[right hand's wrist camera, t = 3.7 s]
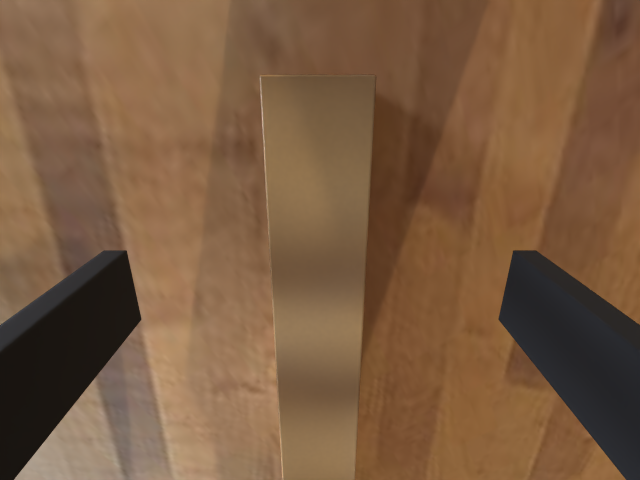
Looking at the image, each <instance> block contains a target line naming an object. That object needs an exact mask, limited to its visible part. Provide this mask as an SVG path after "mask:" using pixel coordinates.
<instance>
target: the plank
mask: <svg viewBox="0 0 640 480" xmlns="http://www.w3.org/2000/svg"><path fill="white" fill-rule="evenodd" d="M259 78H260V96H261V113H262V131H263V148H264V166H265V183H266V201H267V218H268V236H269V253H270V271H271V288H272V306H273V323H274V341H275V358H276V376H277V393H278V411H279V428H280V446H281V463H282V480H355V467H356V448H357V429H358V411H359V392H360V373H361V354H362V335H363V317H364V298H365V279H366V260H367V241H368V223H369V204H370V185H371V166H372V147H373V129H374V110H375V91H376V75H260V77H259Z"/></svg>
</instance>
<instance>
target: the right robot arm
mask: <svg viewBox="0 0 640 480" xmlns="http://www.w3.org/2000/svg"><path fill="white" fill-rule="evenodd" d="M140 321H141V315H140V310H139V306H138V301H137V297H136V292H135V287H134V283H133V278H132V273H131V269H130V264H129V260H128V255H127V251H103V252H101V253H100V254H99V255H97V256H96V257H94V258H93V259H92V260H90V261H89V262H87V263H86V264H85V265H83V266H82V267H80V268H79V269H78V270H76V271H75V272H73V273H72V274H71V275H69V276H68V277H67V278H65V279H64V280H62V281H61V282H60V283H58V284H57V285H55V286H54V287H53V288H51V289H50V290H48V291H47V292H46V293H44V294H43V295H41V296H40V297H39V298H37V299H36V300H35V301H33V302H32V303H30V304H29V305H28V306H26V307H25V308H23V309H22V310H21V311H19V312H18V313H16V314H15V315H14V316H12V317H11V318H9V319H8V320H7V321H5V322H4V323H3V324H1V325H0V480H14V479H15V477H16V476H17V475H18V474H19V472H20V471H21V470H22V469H23V467H24V466H25V465H26V464H27V462H28V461H29V460H30V459H31V457H32V456H33V455H34V454H35V452H36V451H37V450H38V449H39V447H40V446H41V445H42V444H43V442H44V441H45V440H46V439H47V437H48V436H49V435H50V434H51V432H52V431H53V430H54V429H55V427H56V426H57V425H58V424H59V422H60V421H61V420H62V418H63V417H64V416H65V415H66V413H67V412H68V411H69V410H70V408H71V407H72V406H73V405H74V403H75V402H76V401H77V400H78V398H79V397H80V396H81V395H82V393H83V392H84V391H85V390H86V388H87V387H88V386H89V385H90V383H91V382H92V381H93V380H94V378H95V377H96V376H97V375H98V373H99V372H100V371H101V370H102V368H103V367H104V366H105V365H106V363H107V362H108V361H109V360H110V358H111V357H112V356H113V354H114V353H115V352H116V351H117V349H118V348H119V347H120V346H121V344H122V343H123V342H124V341H125V339H126V338H127V337H128V336H129V334H130V333H131V332H132V331H133V329H134V328H135V327H136V326H137V324H138V323H139V322H140ZM499 321H500V322H501V323H502V324H503V326H504V327H505V328H506V329H507V331H508V332H509V333H510V334H511V336H512V337H513V338H514V339H515V341H516V342H517V343H518V344H519V346H520V347H521V348H522V349H523V351H524V352H525V353H526V354H527V356H528V357H529V358H530V360H531V361H532V362H533V363H534V365H535V366H536V367H537V368H538V370H539V371H540V372H541V373H542V375H543V376H544V377H545V378H546V380H547V381H548V382H549V383H550V385H551V386H552V387H553V388H554V390H555V391H556V392H557V393H558V395H559V396H560V397H561V398H562V400H563V401H564V402H565V403H566V405H567V406H568V407H569V408H570V410H571V411H572V412H573V413H574V415H575V416H576V417H577V419H578V420H579V421H580V422H581V424H582V425H583V426H584V427H585V429H586V430H587V431H588V432H589V434H590V435H591V436H592V437H593V439H594V440H595V441H596V442H597V444H598V445H599V446H600V447H601V449H602V450H603V451H604V452H605V454H606V455H607V456H608V457H609V459H610V460H611V461H612V462H613V464H614V465H615V466H616V467H617V469H618V470H619V471H620V472H621V474H622V475H623V476H624V477H625V479H626V480H640V325H639V324H637V323H636V322H635V321H633V320H632V319H631V318H629V317H628V316H626V315H625V314H624V313H622V312H621V311H619V310H618V309H617V308H615V307H614V306H612V305H611V304H610V303H608V302H607V301H605V300H604V299H603V298H601V297H600V296H599V295H597V294H596V293H594V292H593V291H592V290H590V289H589V288H587V287H586V286H585V285H583V284H582V283H580V282H579V281H578V280H576V279H575V278H573V277H572V276H571V275H569V274H568V273H567V272H565V271H564V270H562V269H561V268H560V267H558V266H557V265H555V264H554V263H553V262H551V261H550V260H548V259H547V258H546V257H544V256H543V255H541V254H540V253H539V252H537V251H513V255H512V260H511V264H510V269H509V273H508V278H507V283H506V287H505V292H504V297H503V301H502V306H501V310H500V315H499Z"/></svg>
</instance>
